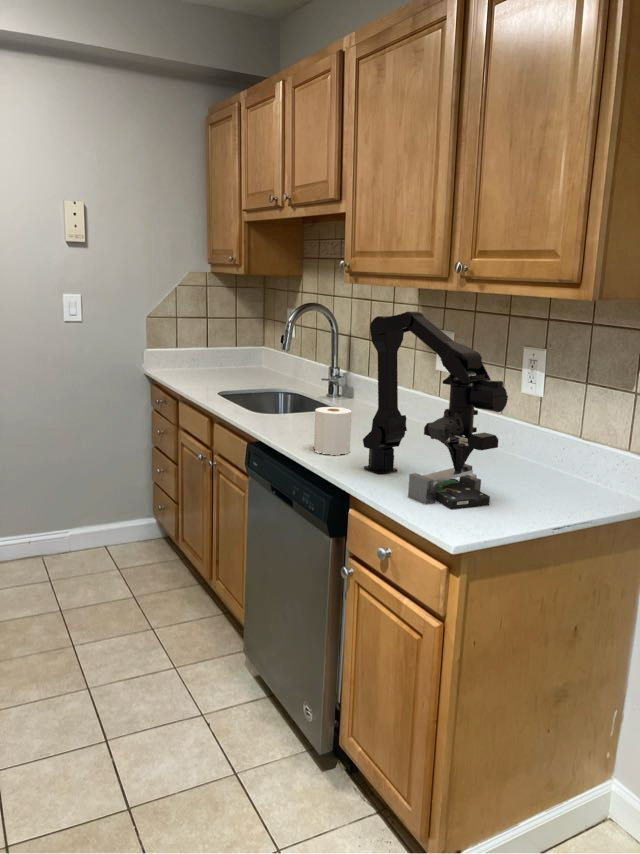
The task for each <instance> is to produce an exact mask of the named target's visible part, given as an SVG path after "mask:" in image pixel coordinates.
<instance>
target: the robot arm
mask: <svg viewBox="0 0 640 854" xmlns="http://www.w3.org/2000/svg"><path fill="white" fill-rule="evenodd" d="M369 332H370V338H371V343H372V345H373V347H374V348H375V350H376V352H377V410H376V412H375V415H374V417H373V418H372V423H371V429H370V432H368V434H366V435H365V436H364V437H363V439H362V443H363V448H366V449H368V465H364V466H363V469H365V470H368V471H369V472H372V473H375V474H377V475H381V474H387V473H393V472H398V468H395V467H394V466H395V454H394V453H395V448H396V447H400V445H401V442H402V439H403V438H405V435H406V432H407V431H408V430H407V429H408V428H407V416H406V414H405V415H403V414H402V413H401V411H400V410H399V407H398V406H399V403H398V402H399V401H398V400H399V399H398V395H399V394H398V393H399V392H398V386H399V385H398V383H399V382H398V379H399V378H398V352H399V350H400V348H401V345H402V343H403V342H404V334H405V333H408V332H411V333H412V334H413V335H414V336H415V337H417V338H418V339H419V340H421V342H422V343H423V344H425V345H426V346H427V347H428V348H429V349H431V350H432V351H433V352H434V353H435V354H437V355H438V357H439V358H440V361H441V364H442V366H443V367H444V368H445V370H446V371H447V372H448V373H449V375H448V376H447V377H446V378H445V379H444V380H442V384H443V385H448V386H450V387H449V402H448V404H449V405H448V408H445V409H444V412H443V416H442V417H440V418H438V419H436V420H433V421H432V422H426V424H425V425H424V427H423V435H425V436H428V437H430V439H432V440H437V441H439V442H440V443H441V444H443V445H444V446H445V447H446V448H447V449H448V452H449V455H450V458H451V461H452V465H453V468H454V469H455V471H461V469H462V467H463V465H464V464H466V462H467V460H468V458H469V457H470V455H471V454H472V452H473V451H474V450H476V451H486V450H492V449H498V448H499V438H498V436H497V435H495V434H491V433H487V432H479V433H478V432H477V431H478V430H477V428H478V427H476V426H474V417H475V416H478V415H479V410H478V409H480V410H483V411H489V412H495V413H501V412H502V411H504V409H505V408H506V406H507V403H508V398H509V397H508V396H509V395H508V393H507V390H506V387H504V381H503V380H491V377H490V375H489V373H488V371H487V370H486V368H485V366H484V364H483V361H482V359H483V358H482V355H481V354H480V353H479V352H478V351H476V350H475V349H473V348H471V347H469V346H468V345H465V344H462V343H458V342H456V341H454V340H453V339H452V338H451V337H449V336H448V335H447V334H446V333H445V332H443V331H442V330H441V329H440V328H438V327H437V326H436V325H435V324H433V322H431V321H430V320H428V319H427V318H426V317H425V316H424V314H423V313H422V312H421V311H405V312H403V313H400V314H396V315H383V316H382V315H380V316H376V317H374V318H373V320H372V321H371V322H370V324H369Z"/></svg>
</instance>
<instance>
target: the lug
mask: <svg viewBox="0 0 640 854" xmlns="http://www.w3.org/2000/svg"><path fill="white" fill-rule="evenodd" d="M477 476H478V475H477V474H476V473H474V472H473V473H472V474H468V475H465V476H461V477H459V481H461V482H463V483H464V484H467V485H468V486H471V487H472V488H474V489H476V490H478V491H481V486H482V485H481V484H482V479H481V478H477Z"/></svg>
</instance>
